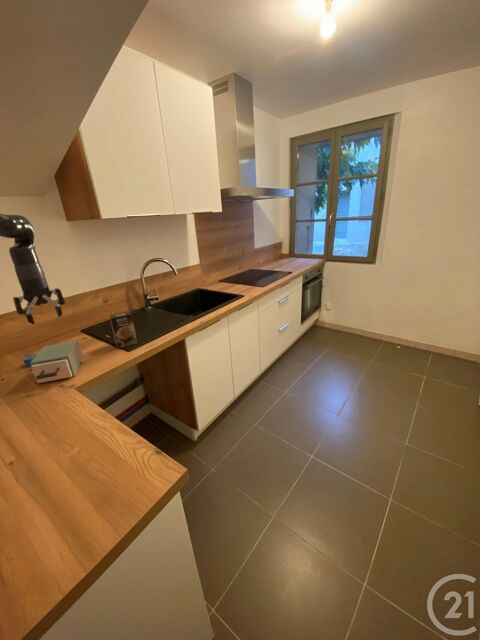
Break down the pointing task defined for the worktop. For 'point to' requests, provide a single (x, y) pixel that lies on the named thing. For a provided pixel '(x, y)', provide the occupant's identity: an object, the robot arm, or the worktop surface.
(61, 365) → the dispenser drawer
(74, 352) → the grey-green drawer cabinet
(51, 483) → the worktop surface
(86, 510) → the worktop surface
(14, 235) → the robot arm
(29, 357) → the blue cube
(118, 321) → the coffee box
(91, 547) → the worktop surface
